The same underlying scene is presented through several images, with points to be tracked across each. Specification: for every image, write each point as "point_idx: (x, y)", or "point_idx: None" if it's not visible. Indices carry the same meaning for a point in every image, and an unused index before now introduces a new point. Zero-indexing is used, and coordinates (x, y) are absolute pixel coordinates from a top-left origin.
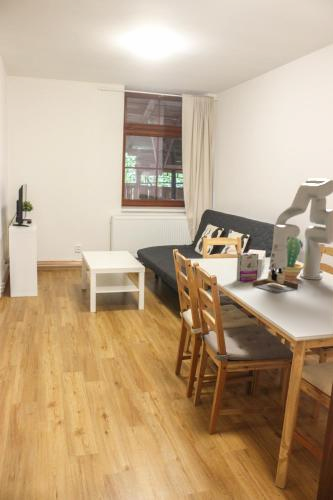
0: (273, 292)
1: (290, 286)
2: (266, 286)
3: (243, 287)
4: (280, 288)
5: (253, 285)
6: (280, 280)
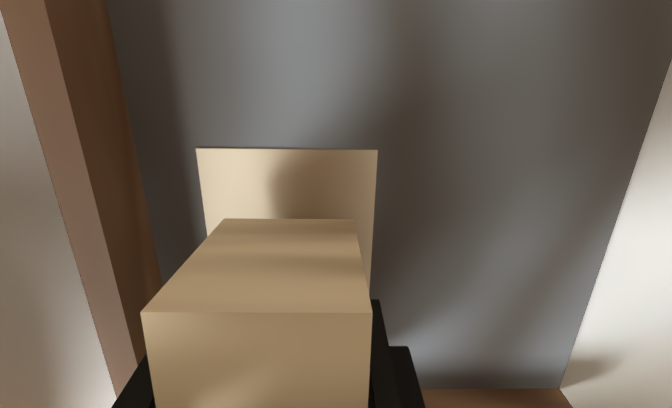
0: (661, 60)
1: (129, 123)
2: (461, 304)
3: (666, 403)
4: (385, 136)
5: (558, 393)
6: (318, 247)
